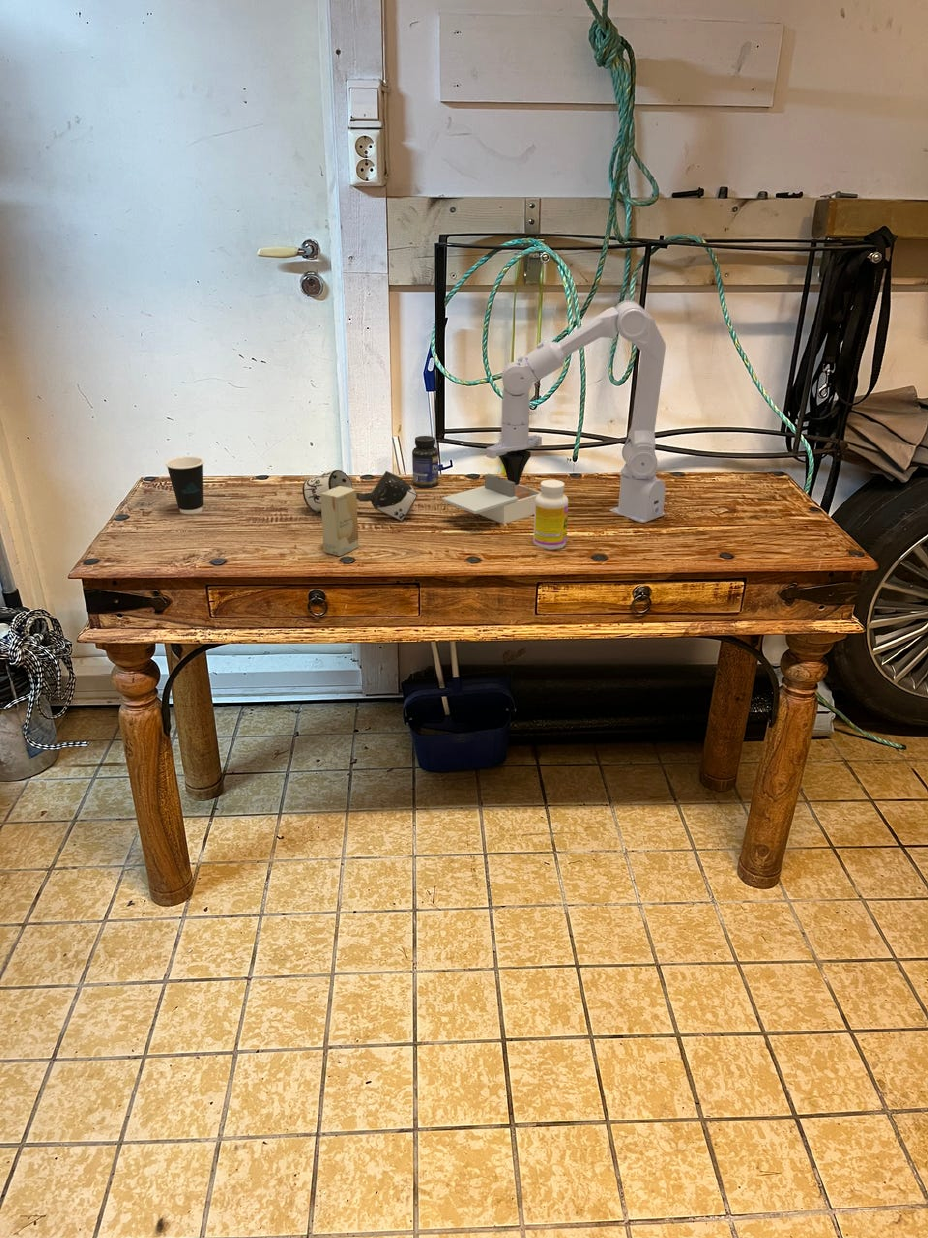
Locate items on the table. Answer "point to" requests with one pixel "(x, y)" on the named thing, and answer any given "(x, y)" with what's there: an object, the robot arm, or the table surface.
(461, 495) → the lid
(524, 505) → the box
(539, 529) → the supplement bottle
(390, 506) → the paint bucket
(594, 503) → the table surface
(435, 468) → the pill bottle
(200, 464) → the dixie cup
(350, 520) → the skincare box
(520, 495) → the terracotta block
